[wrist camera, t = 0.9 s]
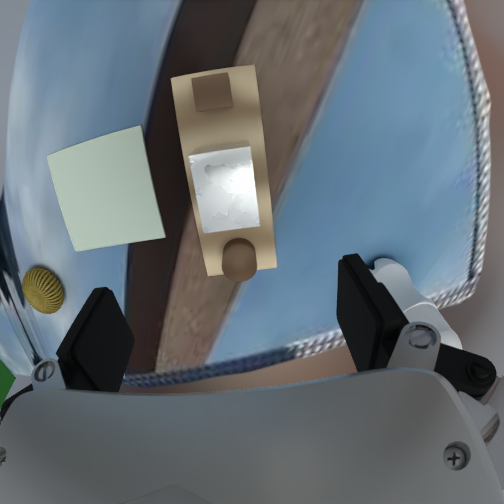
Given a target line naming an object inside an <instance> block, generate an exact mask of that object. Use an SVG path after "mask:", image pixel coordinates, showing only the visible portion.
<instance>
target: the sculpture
mask: <svg viewBox="0 0 504 504" xmlns="http://www.w3.org/2000/svg"><path fill="white" fill-rule="evenodd" d="M36 274H37V275H36ZM53 277H54V274H52V273H51V272H49V271H48V270H46V269H44V268H38V267H37V268H33V269H31V270H29V271H28V272H27V273H26V274H25V276H24V278H23V282H22V283H23V284H22V287H23V293H24V295H25V297H26V299H27V301H28V302H29V303H30V305H32V304H33V305H32V307H33V308H34V309H36V310H37V311H39V312H42V313H45V314H51V313H55V312H56V311H58V310H59V309H60V308H61V306H62V304H63V300H64V294H63V289H62V286H61V284H60V282H59V280H58V279H56V276H55V277H54V278H53ZM52 278H53V279H52ZM44 292H45V293H44Z"/></svg>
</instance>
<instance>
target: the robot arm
mask: <svg viewBox="0 0 504 504" xmlns="http://www.w3.org/2000/svg"><path fill="white" fill-rule="evenodd" d="M337 320H338V323H339V325H340V328H341V330H342V333H343V335H344V338H345V340H346V343H347V345H348V348H349V350H350V353H351V356H352V358H353V361H354V363H355V366H356V369H357V371H358V372H357V373H351V374H345V375H340V376H335V377H330V378H324V379H319V380H312V381H305V382H299V383H292V384H286V385H278V386H271V387H262V388H252V389H242V390H230V391H217V392H198V393H120V392H119V389H120V386H121V383H122V379H123V376H124V373H125V370H126V367H127V364H128V361H129V358H130V355H131V352H132V349H133V346H134V342H135V340H134V336H133V334H132V332H131V330H130V328H129V326H128V324H127V322H126V319H125V317H124V315H123V313H122V311H121V309H120V307H119V304H118V302H117V300H116V298H115V296H114V293H113V291H112V290H109V289H108V288H107V287H101V288H95V289H94V290H93V291H92V293H91V294H90V296H89V297H88V299H87V301H86V302H85V304H84V305H83V307H82V309H81V310H80V312H79V314H78V315H77V317H76V318H75V320H74V322H73V324H72V325H71V327H70V329H69V330H68V332H67V334H66V336H65V337H64V339H63V341H62V343H61V345H60V346H59V348H58V350H57V352H56V355H57V356H58V357H59V359H58V361H56V360H55V359H52V358H49V359H45V360H43V361H41V362H40V363H38V364H37V365H36V366H35V368H34V369H33V371H32V374H31V379H32V384H30V385H29V386H27V387H26V388H24V389H22V390H21V391H19V392H18V393H16V394H15V395H13V396H11V397H10V398H9V399H7V400H6V401H4V403H3V404H2V407H1V411H0V417H1V418H0V504H504V497H503V493H502V490H503V488H504V376H502V377H501V378H499V377H498V376H496V369H495V366H494V365H493V364H492V362H491V361H489V360H488V359H487V358H485V357H482V356H479V355H476V354H473V353H470V352H467V351H464V350H461V349H458V348H455V347H452V346H449V345H446V344H443V343H441V335H440V333H439V331H438V330H437V329H436V328H435V327H434V326H433V325H431V324H429V323H426V322H421V321H417V322H411V323H410V322H409V321H408V319H407V318H406V316H405V315H404V313H403V312H402V310H401V309H400V307H399V306H398V304H397V303H396V301H395V300H394V298H393V297H392V295H391V294H390V292H389V291H388V289H387V288H386V287H385V285H384V284H383V283H382V282H377V280H376V279H375V277H374V276H373V274H372V273H371V271H370V270H369V269H368V267H367V266H366V264H365V263H364V261H363V260H362V259H361V257H360V256H359V255H358V254H357V253H356V254H350V255H344V256H343V259H341V260H339V262H338V291H337Z"/></svg>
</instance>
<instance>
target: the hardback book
mask: <svg viewBox="0 0 504 504" xmlns="http://www.w3.org/2000/svg"><path fill="white" fill-rule="evenodd" d="M15 379H16V377H14V375H13V374H12V373H11V372H10V371H9V369H8V368H7V367H6V366H5V365H4V363H3V362H2V361H1V360H0V408H1V406H2V404H3V402H4V400H5V398H6V396H7V394H8V392H9V390H10V388H11V386H12V384H13V382H14V380H15Z"/></svg>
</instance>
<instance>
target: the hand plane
mask: <svg viewBox="0 0 504 504" xmlns="http://www.w3.org/2000/svg"><path fill="white" fill-rule="evenodd" d="M171 83H172V90H173V97H174V103H175V110H176V116H177V122H178V129H179V135H180V140H181V146H182V152H183V157H184V163H185V168H186V174H187V179H188V184H189V190H190V195H191V200H192V205H193V210H194V214H195V219H196V224H197V229H198V234H199V238H200V243H201V247H202V252H203V256H204V261H205V265H206V269H207V274H208V276H212V275H221V274H224V275H225V276H226V277H227V278H229V279H230V280H233V281H238V282H240V281H246V280H248V279H250V278H251V277H253V276H254V274H255V273H256V270H261V269H269V268H277V261H276V250H275V239H274V229H273V219H272V209H271V199H270V189H269V180H268V171H267V162H266V153H265V144H264V135H263V127H262V119H261V110H260V102H259V94H258V87H257V79H256V71H255V65H247V66H238V67H230V68H223V69H217V70H210V71H204V72H199V73H193V74H188V75H183V76H179V77H174V78H171ZM245 140H248V141H249V144H250V148H251V156H252V164H253V172H254V180H255V189H256V197H257V205H258V213H259V222H260V226H257V227H249V228H241V229H233V230H226V231H218V232H211V233H203V228H202V223H201V218H200V213H199V208H198V203H197V198H196V193H195V188H194V182H193V177H192V171H191V166H190V160H189V155H190V154H191V153H192V152H193V151H194V150H195V149H196V148H198V147H204V146H210V145H217V144H223V143H230V142H237V141H245Z"/></svg>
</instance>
